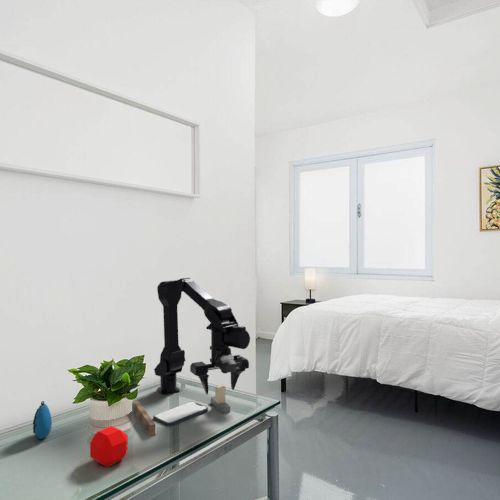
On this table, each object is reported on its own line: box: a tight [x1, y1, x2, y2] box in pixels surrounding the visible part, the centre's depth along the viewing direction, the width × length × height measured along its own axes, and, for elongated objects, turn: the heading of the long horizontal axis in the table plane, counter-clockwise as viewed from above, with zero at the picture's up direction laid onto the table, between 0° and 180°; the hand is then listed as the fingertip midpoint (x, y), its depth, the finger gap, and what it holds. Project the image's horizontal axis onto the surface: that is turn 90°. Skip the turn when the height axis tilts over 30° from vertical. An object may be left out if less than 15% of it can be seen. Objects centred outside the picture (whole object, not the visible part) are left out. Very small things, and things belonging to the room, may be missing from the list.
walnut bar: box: [133, 400, 156, 437], centre depth 130 cm, size 20×2×3 cm, turn 28°
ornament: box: [32, 400, 53, 440], centre depth 120 cm, size 8×5×10 cm, turn 18°
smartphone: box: [152, 401, 209, 427], centre depth 135 cm, size 9×2×16 cm
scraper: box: [210, 384, 231, 414], centre depth 142 cm, size 10×2×7 cm, turn 28°
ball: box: [89, 425, 129, 468], centre depth 107 cm, size 8×8×8 cm
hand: (220, 391), depth 142 cm, fingers open, 9 cm apart
